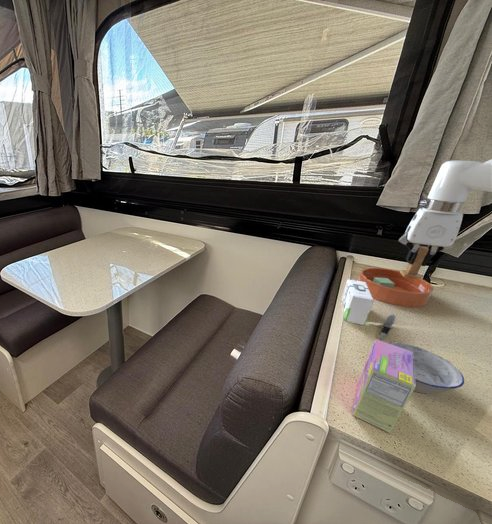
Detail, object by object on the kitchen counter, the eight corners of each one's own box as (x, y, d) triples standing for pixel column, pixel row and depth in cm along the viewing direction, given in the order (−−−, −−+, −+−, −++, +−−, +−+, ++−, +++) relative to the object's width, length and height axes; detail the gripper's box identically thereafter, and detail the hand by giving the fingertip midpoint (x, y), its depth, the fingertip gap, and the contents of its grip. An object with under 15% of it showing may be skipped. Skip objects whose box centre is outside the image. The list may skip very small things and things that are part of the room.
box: (357, 381, 58) (375, 338, 53) (391, 396, 55) (415, 351, 50) (350, 415, 51) (371, 368, 46) (389, 434, 48) (416, 387, 43)
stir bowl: (413, 287, 95) (419, 273, 93) (436, 314, 80) (445, 298, 78) (351, 277, 102) (355, 264, 100) (362, 300, 88) (367, 285, 85)
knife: (372, 336, 72) (386, 340, 70) (372, 333, 71) (387, 338, 69) (382, 312, 81) (396, 316, 79) (383, 310, 81) (396, 314, 79)
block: (383, 288, 94) (387, 278, 92) (390, 294, 90) (395, 283, 88) (370, 287, 94) (374, 277, 93) (377, 292, 91) (381, 282, 89)
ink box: (344, 321, 78) (339, 302, 87) (365, 326, 75) (358, 305, 85) (352, 295, 74) (346, 278, 84) (375, 299, 72) (366, 281, 82)
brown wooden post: (415, 274, 88) (428, 246, 84) (420, 279, 85) (434, 250, 80) (399, 272, 89) (412, 244, 85) (403, 277, 86) (417, 248, 82)
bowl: (442, 416, 51) (454, 398, 49) (363, 371, 61) (370, 355, 59) (462, 385, 57) (473, 368, 55) (387, 350, 67) (394, 334, 65)
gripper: (411, 206, 78) (387, 263, 85) (489, 212, 71) (455, 273, 79) (402, 201, 84) (380, 255, 92) (473, 206, 77) (443, 263, 85)
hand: (415, 263), depth 85 cm, fingers closed on brown wooden post, 2 cm apart
